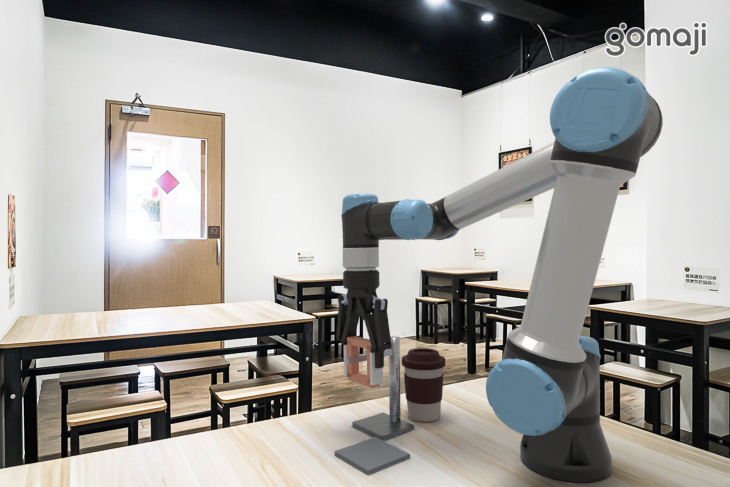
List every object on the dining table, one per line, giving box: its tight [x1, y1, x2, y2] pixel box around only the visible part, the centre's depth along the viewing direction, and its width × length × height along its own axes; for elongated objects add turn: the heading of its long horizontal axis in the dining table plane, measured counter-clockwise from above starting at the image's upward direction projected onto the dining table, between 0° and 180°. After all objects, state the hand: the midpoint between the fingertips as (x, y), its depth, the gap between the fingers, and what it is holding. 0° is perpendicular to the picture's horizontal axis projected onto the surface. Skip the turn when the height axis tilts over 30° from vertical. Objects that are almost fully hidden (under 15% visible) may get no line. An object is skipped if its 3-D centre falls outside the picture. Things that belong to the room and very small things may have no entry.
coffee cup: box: [401, 347, 447, 423], centre depth 109 cm, size 10×10×15 cm
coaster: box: [334, 437, 411, 476], centre depth 89 cm, size 10×10×1 cm
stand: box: [345, 335, 415, 442], centre depth 101 cm, size 10×14×19 cm
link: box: [347, 335, 380, 389], centre depth 99 cm, size 8×2×9 cm, turn 39°
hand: (363, 379), depth 99 cm, fingers closed on link, 8 cm apart
